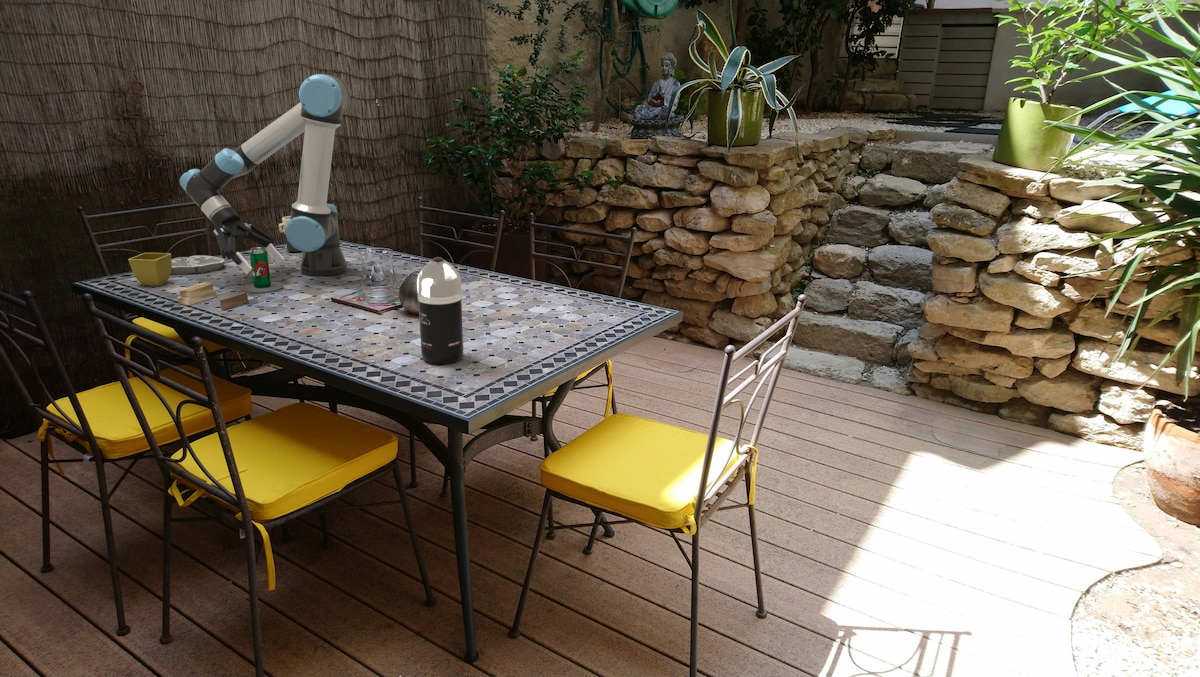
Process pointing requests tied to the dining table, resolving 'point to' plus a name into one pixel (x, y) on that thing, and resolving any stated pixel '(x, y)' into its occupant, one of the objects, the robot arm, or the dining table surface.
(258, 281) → the soda can
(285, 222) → the character mug
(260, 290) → the pad
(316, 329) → the dining table surface
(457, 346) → the black and cream bottle
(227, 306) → the set of wooden blocks
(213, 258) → the brain slice
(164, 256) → the flower pot
